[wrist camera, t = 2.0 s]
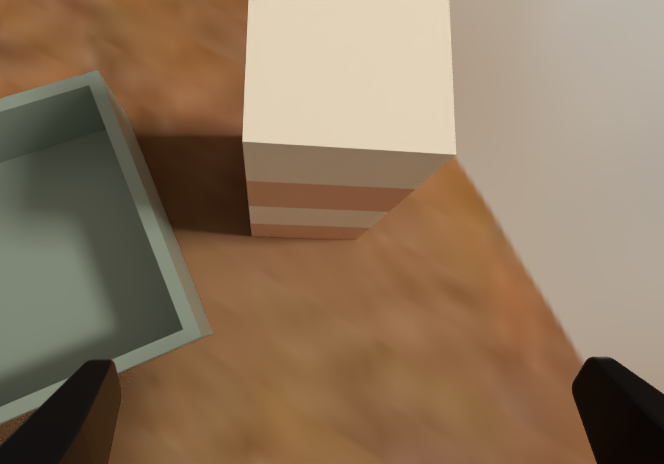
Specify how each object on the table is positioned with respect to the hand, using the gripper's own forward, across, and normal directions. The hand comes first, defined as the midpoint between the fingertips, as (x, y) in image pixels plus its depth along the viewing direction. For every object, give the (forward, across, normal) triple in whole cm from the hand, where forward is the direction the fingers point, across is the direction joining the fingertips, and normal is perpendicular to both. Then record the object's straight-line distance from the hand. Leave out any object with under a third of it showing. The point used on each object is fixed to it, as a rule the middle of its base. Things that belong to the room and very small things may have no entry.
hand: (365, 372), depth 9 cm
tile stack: (+14, 0, +4) cm, 15 cm away
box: (+11, +11, +7) cm, 18 cm away
